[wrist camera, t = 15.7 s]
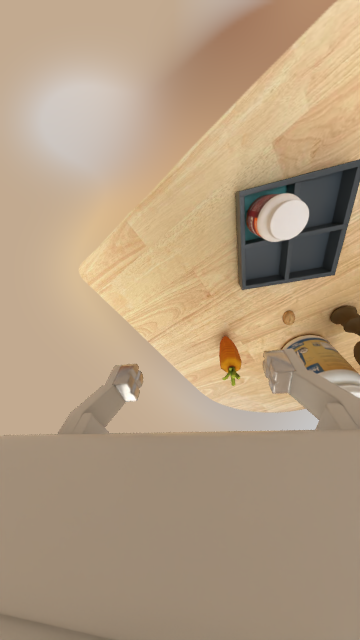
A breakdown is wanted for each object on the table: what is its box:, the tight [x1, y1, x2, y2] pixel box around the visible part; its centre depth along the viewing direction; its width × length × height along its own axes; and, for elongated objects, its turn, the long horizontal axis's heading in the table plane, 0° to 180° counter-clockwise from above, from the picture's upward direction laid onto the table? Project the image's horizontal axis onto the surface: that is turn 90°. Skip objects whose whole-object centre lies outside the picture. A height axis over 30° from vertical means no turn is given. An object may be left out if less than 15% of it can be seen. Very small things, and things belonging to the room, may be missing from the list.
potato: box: [283, 311, 295, 325], centre depth 43 cm, size 3×4×2 cm
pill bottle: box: [246, 193, 309, 242], centre depth 27 cm, size 6×6×11 cm
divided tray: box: [235, 160, 360, 290], centre depth 32 cm, size 17×17×4 cm
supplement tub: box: [283, 335, 360, 398], centre depth 42 cm, size 12×12×17 cm
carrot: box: [219, 336, 241, 386], centre depth 43 cm, size 5×5×15 cm
